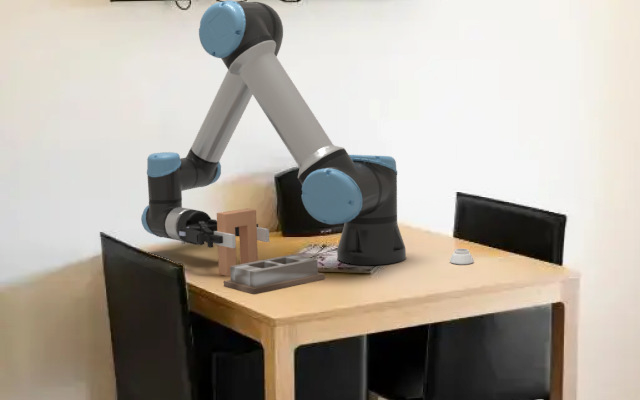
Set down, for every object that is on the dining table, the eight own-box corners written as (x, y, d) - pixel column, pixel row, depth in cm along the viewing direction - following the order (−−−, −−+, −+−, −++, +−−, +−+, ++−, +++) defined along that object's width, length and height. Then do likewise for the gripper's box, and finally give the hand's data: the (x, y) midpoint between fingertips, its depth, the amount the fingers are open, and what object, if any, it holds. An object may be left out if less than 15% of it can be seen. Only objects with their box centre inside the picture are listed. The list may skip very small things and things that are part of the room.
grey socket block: (223, 285, 213) (223, 266, 212) (293, 271, 224) (293, 253, 224) (254, 294, 205) (253, 273, 205) (324, 278, 217) (324, 259, 216)
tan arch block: (219, 274, 224) (216, 213, 222) (249, 268, 229) (247, 208, 227) (227, 276, 222) (225, 214, 220) (258, 270, 227) (255, 209, 225)
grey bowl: (445, 262, 230) (457, 266, 226) (445, 249, 230) (457, 253, 225) (466, 260, 232) (477, 264, 228) (466, 246, 232) (477, 250, 227)
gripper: (228, 236, 245) (290, 249, 228) (150, 249, 232) (210, 264, 214) (227, 203, 244) (289, 214, 227) (148, 215, 230) (208, 227, 213)
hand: (250, 238), depth 221 cm, fingers closed on tan arch block, 8 cm apart
